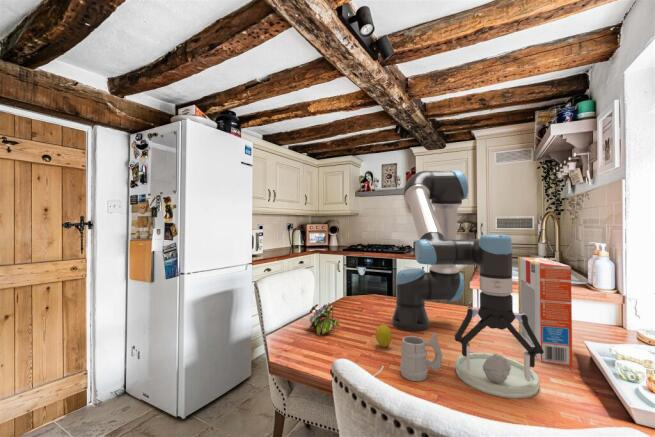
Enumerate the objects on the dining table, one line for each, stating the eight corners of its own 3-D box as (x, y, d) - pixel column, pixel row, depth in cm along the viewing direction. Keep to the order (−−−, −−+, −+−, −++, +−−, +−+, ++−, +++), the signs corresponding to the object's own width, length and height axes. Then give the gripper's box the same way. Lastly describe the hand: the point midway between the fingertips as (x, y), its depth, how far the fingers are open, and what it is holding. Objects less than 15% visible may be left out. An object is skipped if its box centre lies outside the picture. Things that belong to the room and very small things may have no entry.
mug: (397, 367, 88) (397, 327, 88) (437, 368, 88) (437, 328, 88) (402, 381, 81) (402, 337, 81) (446, 382, 80) (446, 338, 80)
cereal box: (572, 365, 89) (571, 266, 90) (540, 361, 92) (539, 265, 92) (543, 337, 111) (542, 257, 111) (518, 335, 113) (518, 257, 114)
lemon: (382, 352, 99) (382, 328, 99) (372, 346, 104) (372, 323, 104) (395, 348, 101) (395, 325, 101) (385, 343, 106) (385, 320, 106)
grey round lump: (517, 386, 76) (516, 359, 76) (495, 390, 74) (495, 362, 74) (497, 374, 82) (497, 349, 82) (476, 378, 80) (476, 352, 80)
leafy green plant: (314, 343, 121) (313, 311, 129) (343, 339, 119) (340, 306, 127) (305, 335, 111) (304, 301, 119) (337, 331, 109) (334, 296, 117)
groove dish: (455, 387, 78) (455, 378, 78) (456, 355, 96) (456, 348, 96) (547, 406, 69) (547, 396, 70) (529, 368, 88) (529, 360, 88)
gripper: (444, 291, 80) (445, 370, 80) (557, 301, 70) (559, 391, 69) (445, 285, 87) (446, 358, 87) (549, 293, 77) (550, 376, 76)
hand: (496, 373), depth 78 cm, fingers open, 13 cm apart
